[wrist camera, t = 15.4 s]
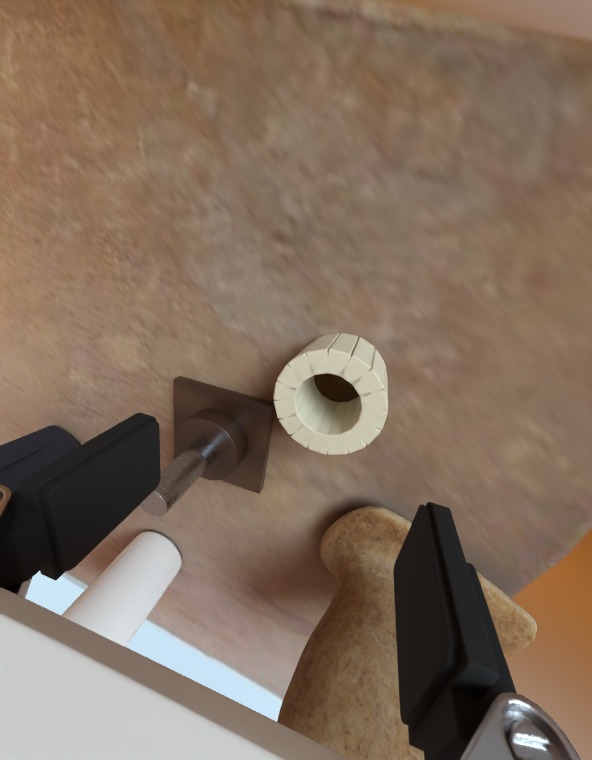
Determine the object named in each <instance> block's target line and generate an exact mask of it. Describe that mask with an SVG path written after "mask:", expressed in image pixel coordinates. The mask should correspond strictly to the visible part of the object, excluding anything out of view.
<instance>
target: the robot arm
mask: <svg viewBox="0 0 592 760" xmlns="http://www.w3.org/2000/svg"><path fill="white" fill-rule="evenodd" d="M160 479H161V475H160V439H159V424H158V422H157V421H156V418H155V417H153V416H149V415H146V414H143V413H137V414H135V415H133V416H131V417H130V418H128V419H126V420H124V421H123V422H121V423H119V424H117V425H116V426H114V427H112V428H110V429H109V430H107V431H105V432H104V433H102V434H100V435H98V436H97V437H95V438H93V439H91V440H90V441H88V442H86V443H84V444H83V445H81V446H79V447H78V448H76V449H74V450H72V451H71V452H69V453H67V454H65V455H64V456H62V457H60V458H58V459H57V460H55V461H53V462H52V463H50V464H48V465H46V466H45V467H43V468H41V469H39V470H38V471H36V472H34V473H33V474H31V475H29V476H27V477H26V478H24V479H22V480H20V481H19V482H17V483H16V484H17V488H18V490H16V491H14V492H13V493H11V491H10V489H9V488H8V487H6V486H4V485H0V760H350V759H348V758H346V757H344V756H342V755H340V754H338V753H336V752H334V751H332V750H331V749H329V748H327V747H325V746H323V745H321V744H319V743H317V742H315V741H313V740H312V739H310V738H308V737H306V736H304V735H302V734H300V733H298V732H296V731H294V730H292V729H290V728H288V727H286V726H284V725H282V724H280V723H278V722H276V721H274V720H272V719H270V718H268V717H266V716H264V715H262V714H260V713H257V712H256V711H253V710H252V709H250V708H248V707H246V706H244V705H242V704H239V703H238V702H236V701H234V700H231V699H230V698H228V697H226V696H224V695H221V694H219V693H217V692H216V691H213V690H211V689H209V688H207V687H205V686H203V685H201V684H199V683H197V682H195V681H193V680H191V679H189V678H187V677H185V676H183V675H181V674H179V673H177V672H175V671H173V670H171V669H169V668H167V667H165V666H163V665H161V664H159V663H157V662H155V661H152V660H151V659H149V658H147V657H144V656H142V655H140V654H138V653H136V652H134V651H132V650H130V649H128V648H126V647H124V646H122V645H120V644H118V643H116V642H114V641H112V640H110V639H108V638H106V637H104V636H102V635H100V634H98V633H95V632H93V631H91V630H89V629H87V628H85V627H83V626H81V625H79V624H77V623H75V622H73V621H71V620H69V619H66V618H64V617H62V616H60V615H58V614H56V613H54V612H52V611H50V610H48V609H46V608H44V607H42V606H39V605H37V604H35V603H33V602H31V601H29V600H27V599H25V597H26V594H27V591H28V588H29V585H30V582H31V579H32V577H33V576H34V575H35V574H36V573H37V572H38V571H41V574H43V575H45V576H47V577H49V578H52V579H54V580H57V579H58V578H59V577H60V576H61V575H62V574H63V573H64V572H65V571H69V570H71V569H73V568H74V567H75V566H76V565H77V564H78V563H80V562H81V561H82V560H83V559H84V558H85V557H86V556H87V555H88V554H89V553H90V552H91V551H92V550H93V549H94V548H95V547H96V546H97V545H98V544H99V543H100V542H101V541H102V540H103V539H104V538H105V537H106V536H107V535H109V534H110V533H111V532H112V531H113V530H114V529H115V528H116V527H117V526H118V525H119V524H120V523H121V522H122V521H123V520H124V519H125V518H126V517H127V516H128V515H129V514H130V513H131V512H132V511H133V510H134V509H135V508H137V507H138V506H139V505H140V504H141V503H142V502H143V501H144V500H145V499H146V498H147V497H148V496H149V495H150V494H151V493H152V492H153V491H154V490H155V489H156V488H157V487H158V485H159V483H160ZM393 577H394V598H395V618H396V639H397V660H398V681H399V701H400V716H401V720H402V723H403V724H405V725H408V734H409V745H411V746H413V747H415V748H417V749H419V750H422V751H424V759H425V760H580V758H579V756H578V754H577V752H576V750H575V749H574V748H573V746H572V744H571V743H570V741H569V740H568V738H567V736H566V735H565V733H564V732H563V731H562V730H561V729H560V727H559V726H558V725H557V724H556V723H555V721H554V720H553V719H552V718H551V717H550V716H549V715H548V714H547V713H546V712H545V711H543V710H542V709H541V708H540V707H539V706H538V705H537V704H535V703H534V702H532V701H530V700H529V699H527V698H526V697H524V696H522V695H519V694H517V693H516V690H515V687H514V684H513V681H512V678H511V675H510V672H509V669H508V666H507V663H506V660H505V657H504V654H503V651H502V647H501V644H500V641H499V638H498V635H497V632H496V629H495V626H494V623H493V620H492V617H491V614H490V611H489V608H488V605H487V602H486V599H485V596H484V593H483V590H482V586H481V583H480V580H479V577H478V574H477V572H476V570H475V568H474V567H473V565H472V564H469V563H466V561H465V557H464V554H463V551H462V547H461V544H460V541H459V537H458V534H457V531H456V527H455V524H454V521H453V518H452V514H451V511H450V509H449V508H447V507H444V506H441V505H437V504H434V503H431V502H428V503H427V504H426V506H424V505H420V506H419V508H418V511H417V513H416V515H415V517H414V520H413V522H412V524H411V527H410V529H409V531H408V534H407V536H406V538H405V541H404V543H403V545H402V547H401V550H400V552H399V554H398V557H397V559H396V561H395V565H394V572H393Z"/></svg>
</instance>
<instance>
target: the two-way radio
mask: <svg viewBox="0 0 592 760" xmlns="http://www.w3.org/2000/svg"><path fill="white" fill-rule="evenodd" d="M79 446H80V444H78V442H77V441H76V440H75V439H74V438H73V437H71V436H70V435H69V434H67V433H66V432H65V431H63V430H62V429H60V428H59V427H57V426H48V427H46V428H44V429H41V430H38V431H36V432H33V433H31V434H28V435H26V436H23V437H21V438H18V439H16V440H14V441H11V442H9V443H6V444H3V445H1V446H0V485H4V486H6V487H8V488H9V489H10V491H11V493H13V492H14V491H16V490H18V488H17V484H16V483H17V482H19V481H20V480H22V479H24V478H26V477H27V476H29V475H31V474H33V473H34V472H36V471H38V470H39V469H41V468H43V467H45V466H46V465H48V464H50V463H52V462H53V461H55V460H57V459H58V458H60V457H62V456H64V455H65V454H67V453H69V452H71V451H72V450H74V449H76V448H78V447H79Z"/></svg>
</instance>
